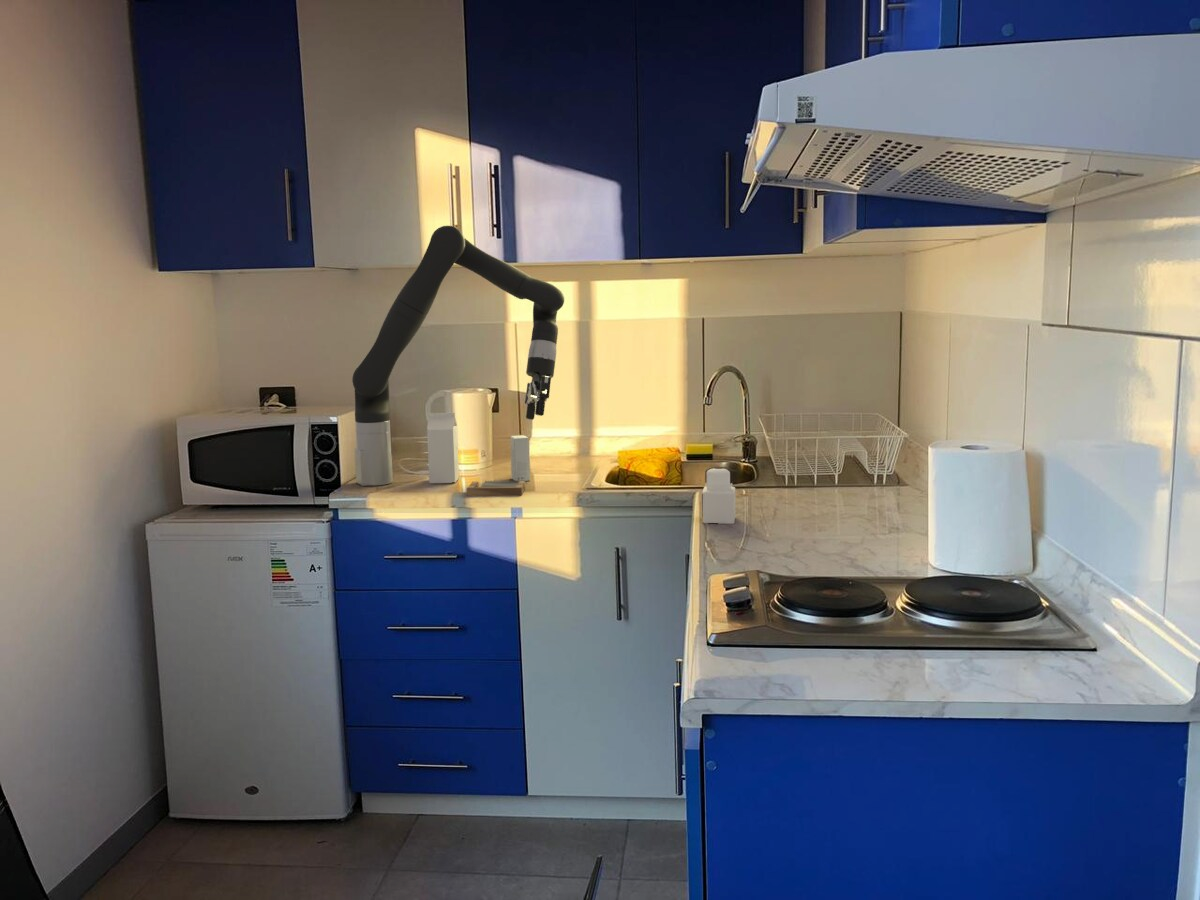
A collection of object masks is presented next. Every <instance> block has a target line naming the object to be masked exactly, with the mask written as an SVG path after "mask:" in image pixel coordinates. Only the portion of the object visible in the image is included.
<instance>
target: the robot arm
mask: <svg viewBox="0 0 1200 900" xmlns="http://www.w3.org/2000/svg"><path fill="white" fill-rule="evenodd" d="M454 264H455V265H458V266H461V267H463V268H465V269H466V270H467V269H468V270H469V271H471V272H473V273H475V274H476V275H478V276H481V277H482V278H483V279H484V280H486V281H487V282H489V283H491V284H493V286H496V287H497V288H499V289H501V290H502V291H504V292H505V293H507V294H510V295H511V296H513V297H514V298H516V299H520V300H529V301H530V302H533V308H532V322H533V323H532V330H531V331H532V332H531V338H530V339H531V340H530V345H529V348H528V355H527V364H526V371H525V373H526V375H527V376H529V377H531V382H527V385H526V393H525V400H524V404H525V405H526V412H525V413H526V414H525V419H527V420H531V421H532V420H534V419H535V415H536V416H539V417H541V416H542V417H543V416H544V414H545V406H546V402H547V400H548V399H549V398H550V390H551V381H552V378H554V374H555V368H556V360H557V359H556V358H557V342H558V336H559V334H558V333H559V328H558V325H557V316H558V315H557V314H558V311H559V310H560V309H561V308H563V306H564V304H565V296H564V293H563V291H562V290H561V289H560V288H558V287H557V286H555V285H554V284H552V283H549V282H548V281H544V280H541V279H539V278H535V277H533V276H531V275H529V274H527V273H526V272H524V271H522V270H521V269H519V268H517V267H515V266H513V265H512V264H510V263H507V262H506V261H503V260H501V259H500V258H497V257H495V256H494V255H493V256H492V255H491V254H489V253H487V252H486V251H484V250H482V249H480V248H479V247H477V246H475V245H474V244H473V243H472V242H471V241H469V240H468V239H467V238H465V236H464V235H463V232H461V230H460V229H459V228H458V227H456V226H453V225H442V226H440V227H438V228H436V229H435V230H434V231H433V233H432V235H431V237H430V240H429V243H428V245H427V248H426V250H425V251H424V255H423V257H422V259H421V261H420V263H419V265H418V266H417V268H416V270H415V271H414V272H413V273H412V274H411V276H410V277H409V278H408V280H407V281H406V283H405V284H404V286H403V287H402V288H401V290H400V292H399V293H398V294H397V296H396V298H395V300H394V301H393V303H392V304H391V307H390V309H389V310H388V313H387V314H386V316H385V318H384V321H383V323H382V324H381V328H380V330H379V332H378V335H377V337H376V339H375V341H374V344H373V345H372V347H370V350H369V351H368V352H367V355H365V357H364V359H363V360H362V362H361V363H360V364H359V365H358V367H356V368H355V370H354V372H353V374H352V379H351V380H352V381H351V382H352V386H353V388H354V421H355V441H356V443H355V444H356V448H354V458H355V459H354V461H355V479H356V480H355V481H356V483H357V484H358V485H360V486H361V487H363V486H366V487H367V486H383V485H387V484H391V483H393V476H394V474H393V461H392V456H393V455H392V439H391V438H392V437H391V421H390V419H391V418H390V417H391V416H390V415H391V414H390V410H391V409H390V406H391V405H390V404H391V403H390V383H389V379H390V376H391V374H392V372H393V369H394V367H395V365H396V363H397V361H398V360H399V358H400V356H401V354H402V353H403V352H404V350H405V349H406V347H408V345H409V344H410V342H412V340H413V338H414V337H415V335H416V334H417V333H418V331H419V329H420V328H421V327H422V325H423V322H424V321H425V319H426V318H427V316H428V314H429V312H430V310H431V308H432V306H433V304H434V301H435V299H436V297H437V294H438V292H439V289H440V287H441V285H442V283H443V281H444V279H445V277H446V276H447V274H448V273H449V271H451V268H452V267H453V265H454Z"/></svg>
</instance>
